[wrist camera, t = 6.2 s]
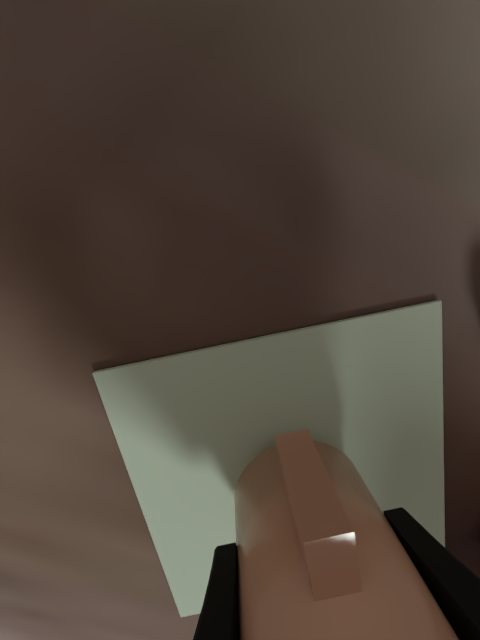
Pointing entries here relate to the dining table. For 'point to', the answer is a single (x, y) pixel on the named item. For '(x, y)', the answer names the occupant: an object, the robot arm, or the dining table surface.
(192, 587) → the felt mat
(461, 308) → the dining table surface
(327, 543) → the terracotta jug
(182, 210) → the dining table surface
